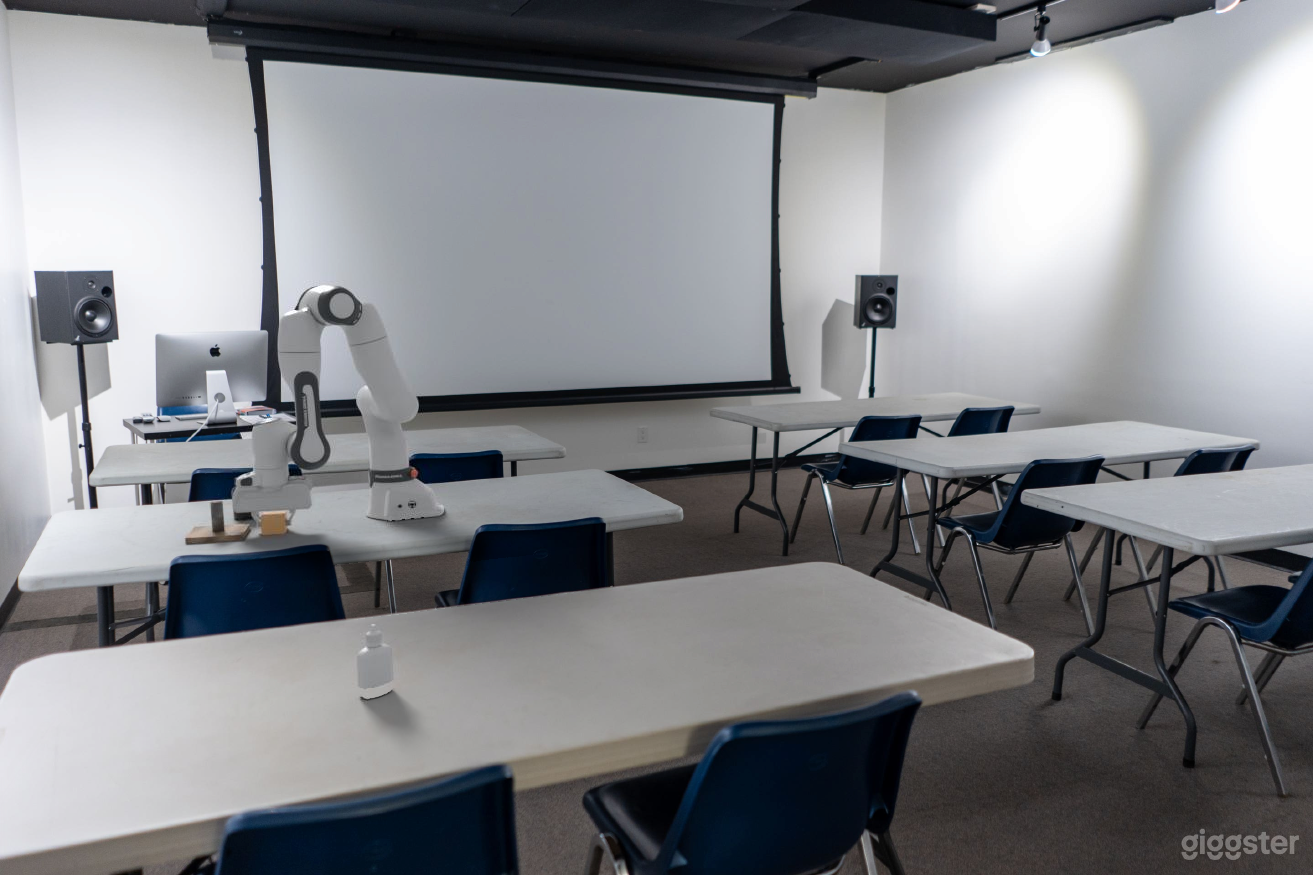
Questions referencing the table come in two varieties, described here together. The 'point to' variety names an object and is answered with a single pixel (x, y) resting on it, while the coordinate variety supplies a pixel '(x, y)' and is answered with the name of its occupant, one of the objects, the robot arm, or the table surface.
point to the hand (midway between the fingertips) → (274, 526)
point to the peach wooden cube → (273, 523)
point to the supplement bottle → (245, 514)
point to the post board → (218, 536)
